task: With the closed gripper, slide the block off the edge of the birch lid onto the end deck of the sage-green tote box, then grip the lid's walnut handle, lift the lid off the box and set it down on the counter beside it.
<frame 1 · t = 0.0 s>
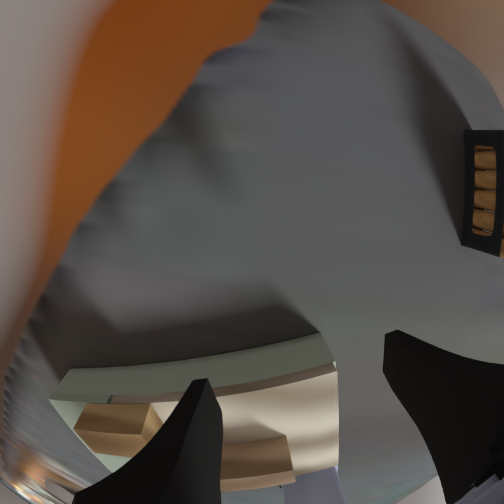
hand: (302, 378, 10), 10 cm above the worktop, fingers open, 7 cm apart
lid: (238, 442, 19), point 4 cm above the worktop, touching flat box
ammunition clip: (469, 188, 19), on the worktop
block: (119, 430, 15), point 7 cm above the worktop, slide at 0.0 cm
flat box: (201, 414, 23), on the worktop
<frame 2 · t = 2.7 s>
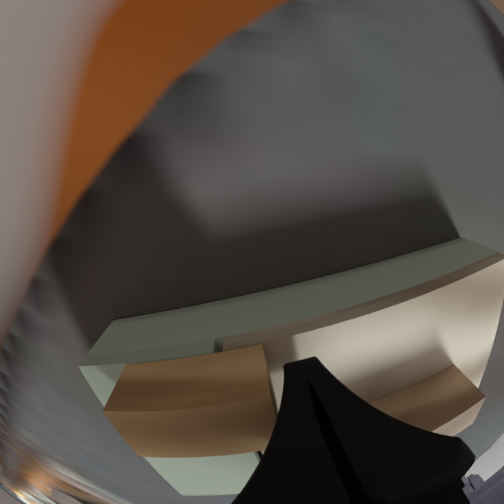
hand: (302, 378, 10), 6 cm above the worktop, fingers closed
lid: (391, 393, 13), point 4 cm above the worktop, touching flat box
block: (196, 407, 9), point 7 cm above the worktop, slide at 2.0 cm, touching gripper
flat box: (319, 372, 17), on the worktop
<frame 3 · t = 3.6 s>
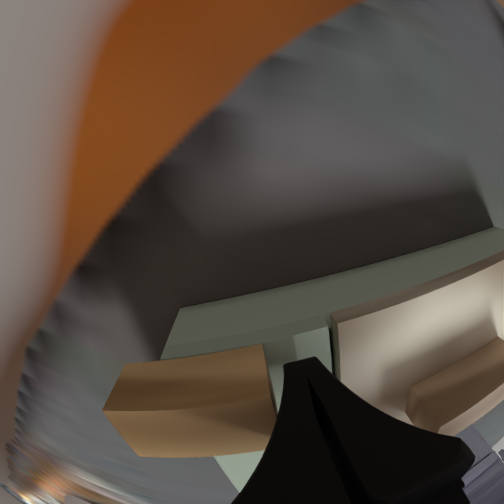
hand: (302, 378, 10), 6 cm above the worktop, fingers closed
lid: (449, 365, 13), point 4 cm above the worktop, touching flat box
block: (196, 407, 9), point 7 cm above the worktop, slide at 6.7 cm, touching gripper
flat box: (380, 353, 17), on the worktop
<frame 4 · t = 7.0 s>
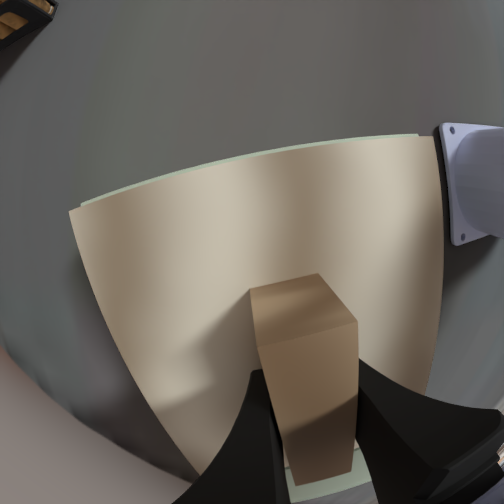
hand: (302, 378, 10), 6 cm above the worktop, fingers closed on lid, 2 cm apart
lid: (295, 355, 11), point 4 cm above the worktop, touching gripper, flat box
ammunition clip: (10, 38, 9), on the worktop
flat box: (290, 362, 16), on the worktop
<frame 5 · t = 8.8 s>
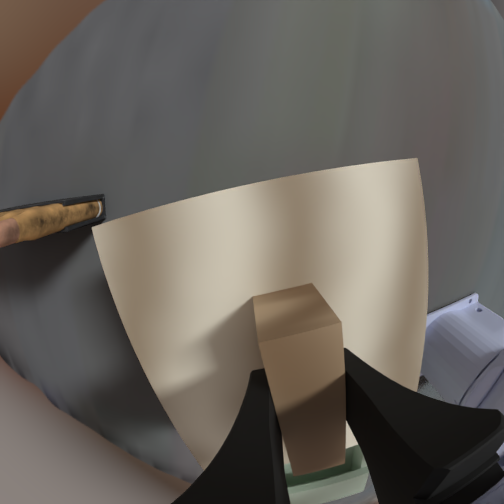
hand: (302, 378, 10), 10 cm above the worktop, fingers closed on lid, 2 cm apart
lid: (293, 356, 13), point 8 cm above the worktop, touching gripper
ammunition clip: (54, 211, 18), on the worktop
flat box: (300, 439, 25), on the worktop
when the fingers open (5 cm above the worktop, at t = 11.0 s): lid drops 2 cm, on the worktop.
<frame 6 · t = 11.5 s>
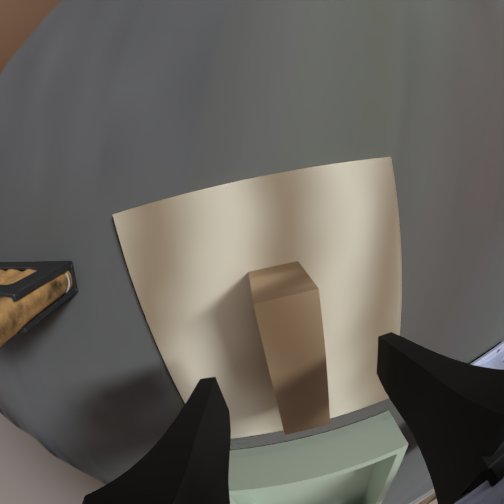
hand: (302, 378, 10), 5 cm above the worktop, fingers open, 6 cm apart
lid: (283, 326, 15), on the worktop
ammunition clip: (19, 274, 13), on the worktop
flat box: (313, 489, 20), on the worktop
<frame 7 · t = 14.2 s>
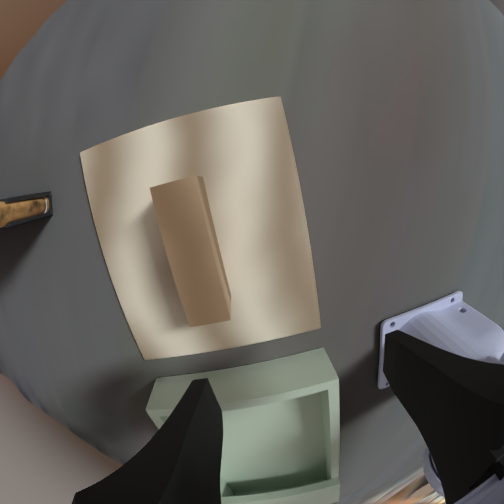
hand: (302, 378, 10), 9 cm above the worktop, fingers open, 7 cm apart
lid: (200, 239, 18), on the worktop
ammunition clip: (13, 210, 16), on the worktop
flat box: (264, 445, 23), on the worktop
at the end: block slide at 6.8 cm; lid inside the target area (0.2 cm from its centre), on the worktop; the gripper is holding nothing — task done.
